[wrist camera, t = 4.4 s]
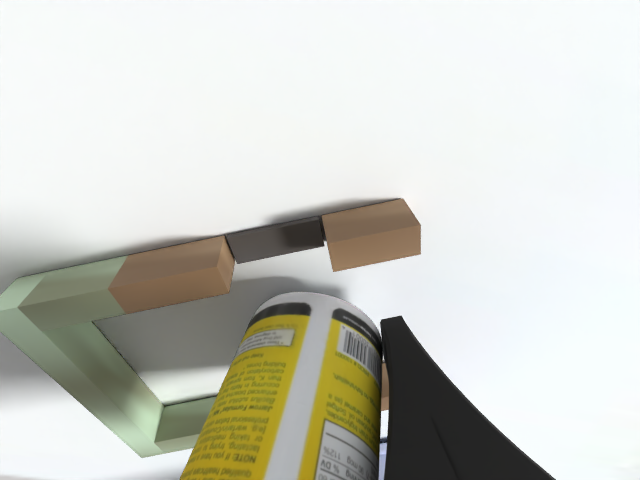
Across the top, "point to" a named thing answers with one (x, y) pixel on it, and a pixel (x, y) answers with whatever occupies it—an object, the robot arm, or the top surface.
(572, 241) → the top surface
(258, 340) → the supplement bottle
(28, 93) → the top surface
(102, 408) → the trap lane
